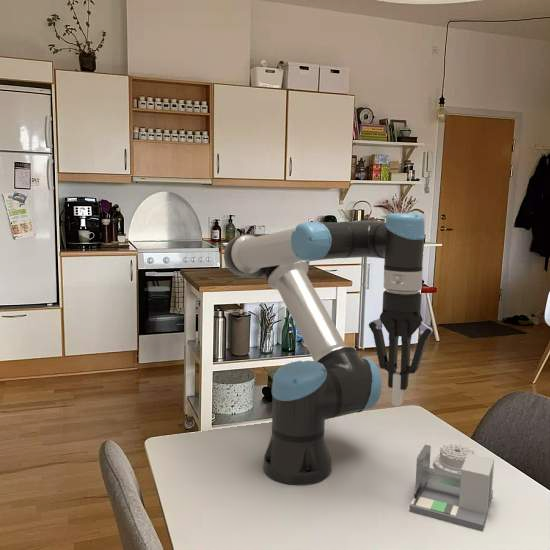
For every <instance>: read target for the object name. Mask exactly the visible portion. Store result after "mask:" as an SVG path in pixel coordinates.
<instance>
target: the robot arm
mask: <svg viewBox="0 0 550 550" xmlns="http://www.w3.org/2000/svg"><path fill="white" fill-rule="evenodd" d="M425 232H426V231H425V217H424V216H423V215H422V214H419V213H406V212H405V213H402V212H401V213H399V212H398V213H388V214H387V215H386V217H385V222H383V221H381V222H380V221H374V220H373V221H371V220H366V219H365V220H364V219H363V220H362V219H361V220H360V219H359V220H353V221H337V222H335V221H333V222H332V221H329V222H327V221H325V222H323V221H308V222H301V223H299V224H296V227H294V228H290V229H285V230H279V231H276V232H271V233H247V234H246V233H245V234H241V235H238V236H235V237H233V238H232V239H230V240H229V241H228V242H227V244H226V245H225V248H224V251H223V261H224V264H225V266H226V267H227V269H228V270H229V272H231V273H233V275H235V276H239V277H242V278H251V279H252V278H265V279H266V282H267V284H268V285H269V287H270V288H271V289H273V290H277V291H278V293H279V295H280V297H281V299H282V301H283V303H284V304H285V307H286V309H287V310H288V312H289V314H290V316H291V318H292V321H293V322H294V324H295V326H296V328H297V330H298V332H299V335H300V336H301V338H302V340H303V341H304V344H305V346H306V348H307V350H308V352H309V353H310V356H311V358H312V359H313V360H304V361H302V360H297V361H291V362H288V363H285V364H284V365H282V366H280V367H278V368H277V370H275V372H274V374H273V377H272V386H271V395H272V396H271V397H272V399H271V400H272V401H271V403H272V405H271V408H272V409H271V411H272V413H271V436H270V438H269V442H268V444H267V446H266V447H267V448H266V450H265V453H264V456H263V472H264V473H265V474H266V475H267V476H268V477H269V478H271V479H272V480H275V481H277V482H279V483H283V484H288V485H296V486H299V485H300V486H301V485H303V486H304V485H312V484H315V483H319V482H322V481H324V480H325V479H326V478H328V477H329V476H330V474H331V473H332V457H331V453H330V450H329V448H328V447H329V446H328V444H327V440H326V438H325V424H326V420H328V419H334V418H337V417H342V416H346V415H351V414H355V413H357V414H358V413H361V412H364V411H366V410H368V409H369V410H370V409H372V408H373V407H374V406H375V405H377V403H378V402H379V401H380V398H381V394H382V387H383V383H382V381H383V380H382V376H381V372H380V370H379V368H380V369H382V370H385V371H387V373H388V377H387V386H388V388H389V389H390V388H391V389H392V391H391V394H392V395H391V405H392V406H397V407H400V406H401V405H402V403H403V402H404V401H403V400H404V399H403V398H404V391H406V390H407V389H408V387H409V375H410V374H415V373H417V371H418V370H419V368H420V364H421V361H422V358H423V354H424V351H425V348H426V345H427V342H428V338H429V337H430V336H431V335H432V333H433V332H434V327H433V326H429V325H427V324H426V323H424V322H423V321H424V319H423V317H422V313H421V312H422V311H421V309H422V308H421V307H422V294H421V292H420V291H421V290H422V289H423V288H422V287H423V266H424V265H423V263H424V261H423V260H424V249H425V247H424V246H425V239H426V233H425ZM350 258H351V259H352V258H376V259H377V258H379V259H384V265H383V288H384V289H385V290H383V292H382V311H381V314H379V318H377V319H374V320H372V321H370V322H369V323H368V328H369V329H370V330H371V333H372V334H373V339H374V345H375V350H376V354H377V355H376V356H377V360H378V365H379V367H378V366H377V364H376V363H375V362H374V361H373V360H372V359H369V358H365V357H364V358H363V357H362V358H361V357H360V355H359V354H358V352H357V349H356V348H355V347H354V346H352V345H347V344H346V343H345V341H344V339H343V338H342V336H341V334H340V332H339V330H338V329H337V327H336V325H335V322H333V320H332V318H331V316H330V314H329V313H328V310H327V309H326V307H325V305H324V303H323V301H322V300H321V298H320V296H319V294H318V293H317V291H316V289H315V287H314V286H313V284H312V282H311V280H310V279H309V275H308V271H309V266H310V262H316V261H321V260H322V261H323V260H324V261H325V260H333V259H335V260H336V259H350ZM383 327H384V328H385V330H386V331H387V333H388V352H387V348H386V344H385V343H386V342H385V338H384V333H383V329H382V328H383ZM418 329H419V331H418V332H419V335H420V336H419V338H418V341H417V344H416V348H415V350H414V354H413V357H412V360H411V343H412V342H411V341H412V336H413V334H414V333H415V332H416V331H417V330H418ZM400 338H401V341H400V342H401V348H400V349H401V350H400V351H401V352H400V353H401V355H400V370H398V368H399V367H398V357H399V356H398V355H399V352H398V350H399V339H400ZM410 363H411V364H410Z"/></svg>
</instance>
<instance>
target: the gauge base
mask: <svg viewBox="0 0 550 550" xmlns="http://www.w3.org/2000/svg"><path fill="white" fill-rule="evenodd" d="M494 466H495V458H494V457H491V456H489V457H488V456H484V455H480V454H476V453H475V454H472V453H468V454H467V457H466V459H465V462H464V464H463V466H462V469H461V481H460V488H458V487H454V486H450V485H446V484H442V483H438V482H434V481H430V480H427V482H426V484H425V486H424V488H423V490H422V492H421V493H420V495H419V497H418V499H415V498H414V497H413V498H412V500H411V502H410V504H409V512H412V513H415V514H418V515H421V516H426V517H428V518H433V519H435V520H436V519H437V520H439V521H443V522H447V523H451V524H456V525H458V526H461V527H465V528H470V529H473V530H477V531H481V532H483V531H484V528H485V524H486V520H487V517H488V513H489V509H490V506H491V502H492V499H493V494H494V492H493V491H494V490H493V481H494Z"/></svg>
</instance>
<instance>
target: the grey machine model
mask: <svg viewBox="0 0 550 550" xmlns="http://www.w3.org/2000/svg"><path fill="white" fill-rule="evenodd" d="M431 451H432V446H431V445H429V444H424V446H423V448H421V450H420V452H419V454H418V455H417V457H416V466H415V469H416V470H415V485H414V486H415V487H414V488H415V489H414V491H415V493H414V496H413V498H415V499H418V497H419V495H420V493H421V492H422V490H423V488H424V486H425V484H426V482H427V480H430V481H434V482H438V483H442V484H446V485H450V486H454V487H458V488H460V481H461V475H458V474H454V473H450V472H445V471H441V470H437V469H435V468H432V467H430V465H431Z"/></svg>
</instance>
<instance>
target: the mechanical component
mask: <svg viewBox="0 0 550 550" xmlns="http://www.w3.org/2000/svg"><path fill="white" fill-rule="evenodd" d="M468 453H472V454H476V452H475V451H474V450H471V449H470V447H468V446H463V445H462V444H456V443H454V444H453V443H451V444H447V445H446V444H444V445H443V446H442V447H440V448H439V454H437V455H436V456H435V457H434V458H433V469H437V470H441V471H445V472H450V473H454V474H458V475H461V469H462V466H463V464H464V462H465V459H466V457H467V454H468Z"/></svg>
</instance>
